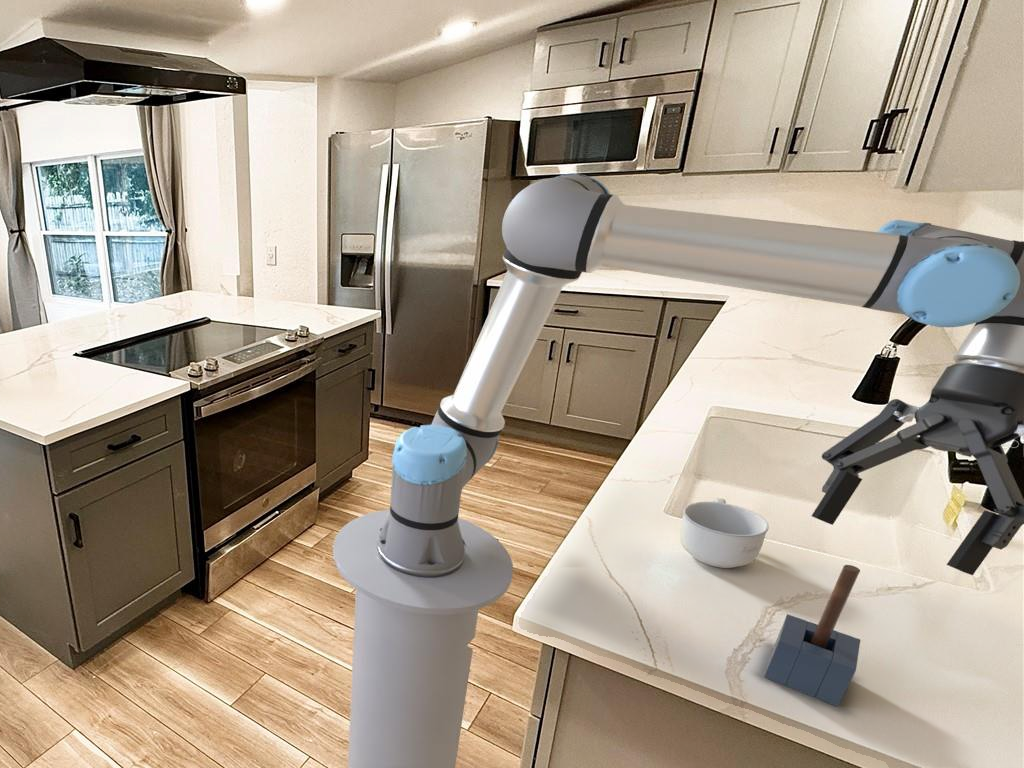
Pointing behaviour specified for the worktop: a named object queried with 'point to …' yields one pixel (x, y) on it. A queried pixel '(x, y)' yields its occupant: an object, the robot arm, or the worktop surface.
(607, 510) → the worktop surface
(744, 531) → the teacup
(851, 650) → the stand
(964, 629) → the worktop surface
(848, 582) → the stick
